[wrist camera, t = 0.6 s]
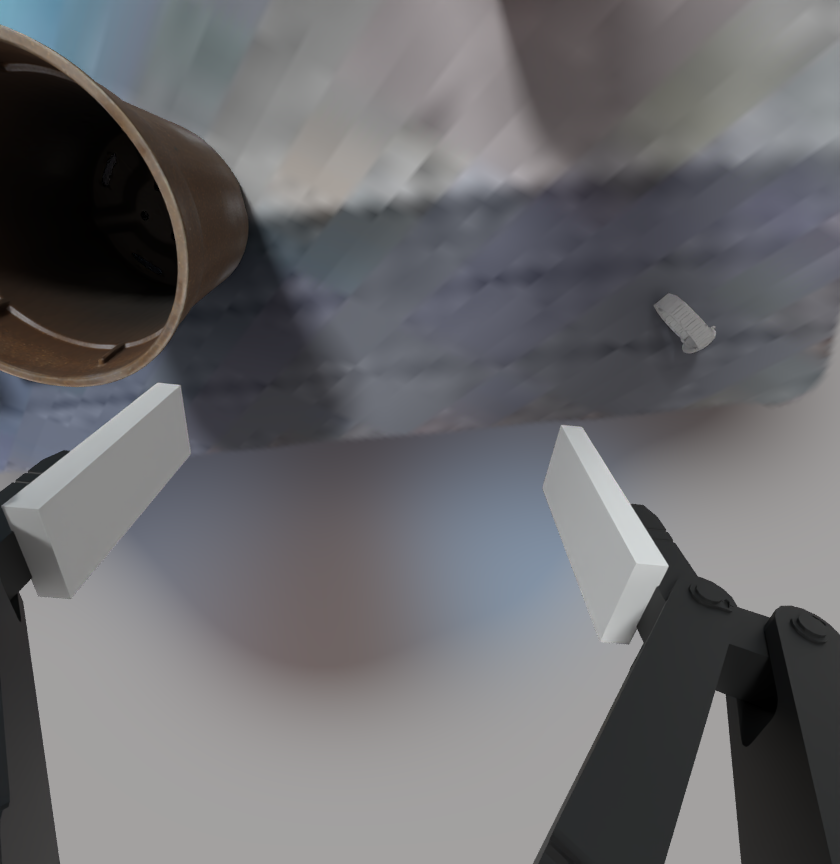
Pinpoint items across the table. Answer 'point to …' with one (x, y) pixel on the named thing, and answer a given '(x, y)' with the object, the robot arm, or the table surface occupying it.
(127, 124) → the plant pot
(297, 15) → the table surface
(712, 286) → the table surface
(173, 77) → the table surface
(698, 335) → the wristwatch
